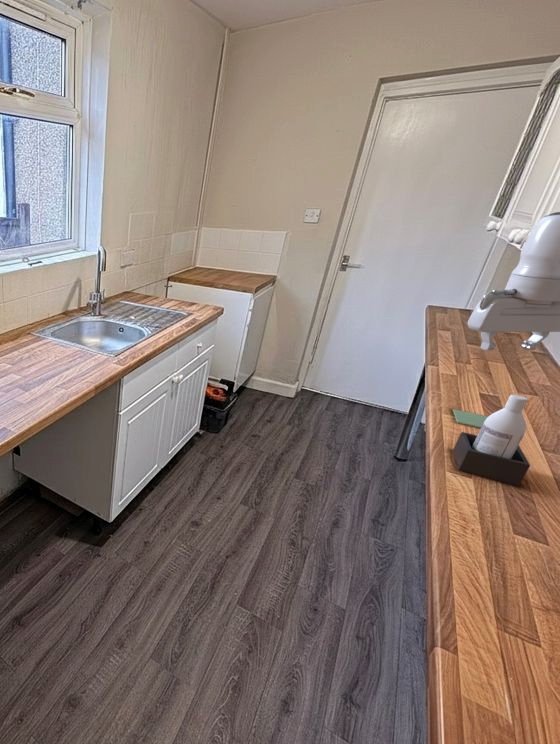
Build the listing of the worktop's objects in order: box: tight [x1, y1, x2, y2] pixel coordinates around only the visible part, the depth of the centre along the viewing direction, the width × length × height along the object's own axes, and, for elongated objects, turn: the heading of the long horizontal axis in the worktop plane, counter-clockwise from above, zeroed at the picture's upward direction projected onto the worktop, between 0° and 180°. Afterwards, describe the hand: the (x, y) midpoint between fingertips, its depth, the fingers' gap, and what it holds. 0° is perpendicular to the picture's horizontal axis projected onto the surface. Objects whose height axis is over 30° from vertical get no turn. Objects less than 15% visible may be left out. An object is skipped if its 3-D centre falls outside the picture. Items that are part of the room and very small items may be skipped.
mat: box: [452, 408, 489, 429], centre depth 125 cm, size 10×10×1 cm
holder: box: [452, 431, 531, 487], centre depth 103 cm, size 11×11×6 cm
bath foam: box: [472, 394, 529, 459], centre depth 100 cm, size 7×7×20 cm
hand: (506, 349), depth 95 cm, fingers open, 8 cm apart
